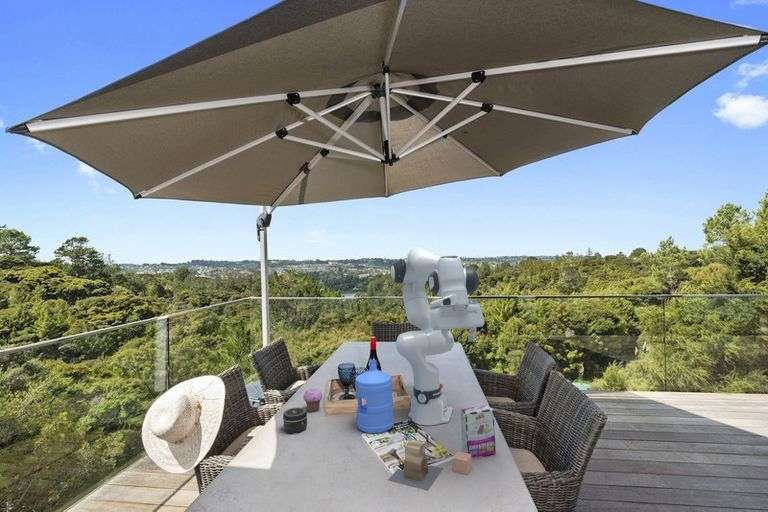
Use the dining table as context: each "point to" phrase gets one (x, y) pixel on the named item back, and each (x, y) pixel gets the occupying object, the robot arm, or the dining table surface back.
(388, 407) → the water jug
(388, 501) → the dining table surface
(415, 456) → the tower mid
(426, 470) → the tower base
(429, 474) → the mat
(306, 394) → the cupcake
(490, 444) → the candy bar box
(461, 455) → the terracotta block
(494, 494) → the dining table surface
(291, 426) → the jar
